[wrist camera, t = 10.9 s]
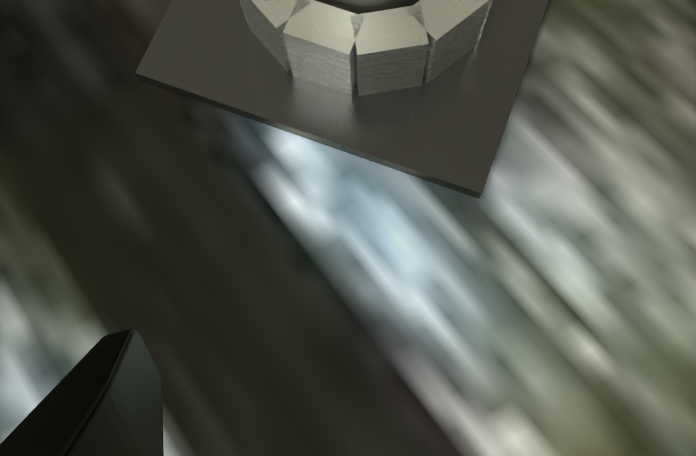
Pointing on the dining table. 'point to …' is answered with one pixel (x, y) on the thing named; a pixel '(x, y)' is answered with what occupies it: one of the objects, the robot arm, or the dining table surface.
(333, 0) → the cream bottle
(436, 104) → the segmented ring base
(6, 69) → the dining table surface
